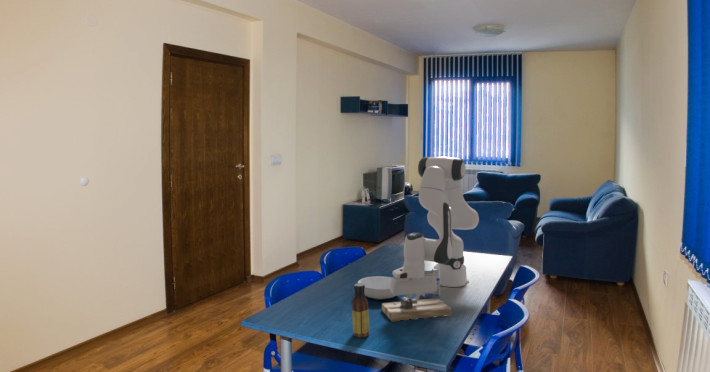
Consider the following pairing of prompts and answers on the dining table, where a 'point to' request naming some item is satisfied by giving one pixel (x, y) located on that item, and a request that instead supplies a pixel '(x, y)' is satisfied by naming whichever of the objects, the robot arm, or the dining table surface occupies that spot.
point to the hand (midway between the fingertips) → (413, 303)
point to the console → (416, 310)
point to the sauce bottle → (360, 312)
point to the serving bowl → (377, 287)
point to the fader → (406, 302)
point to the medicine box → (433, 292)
